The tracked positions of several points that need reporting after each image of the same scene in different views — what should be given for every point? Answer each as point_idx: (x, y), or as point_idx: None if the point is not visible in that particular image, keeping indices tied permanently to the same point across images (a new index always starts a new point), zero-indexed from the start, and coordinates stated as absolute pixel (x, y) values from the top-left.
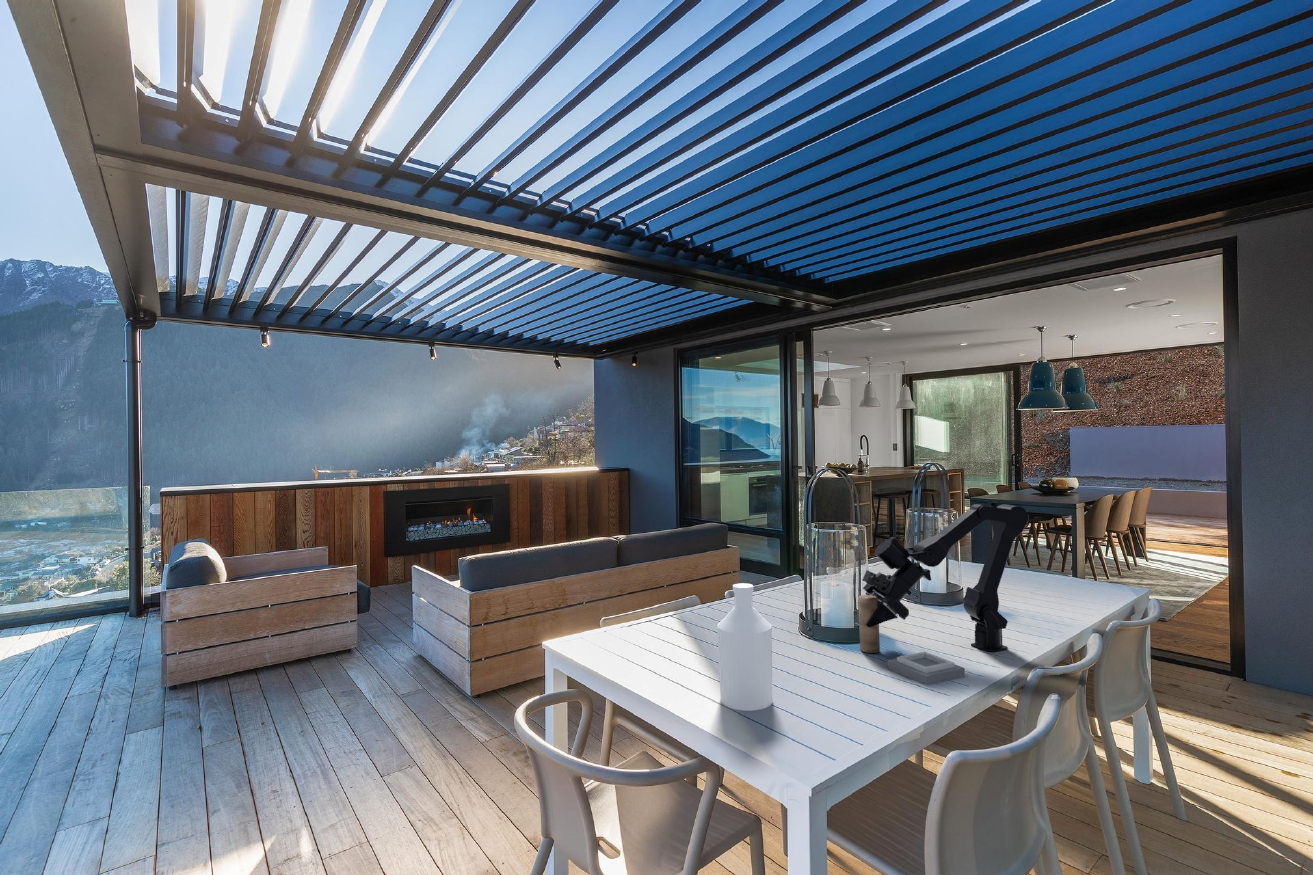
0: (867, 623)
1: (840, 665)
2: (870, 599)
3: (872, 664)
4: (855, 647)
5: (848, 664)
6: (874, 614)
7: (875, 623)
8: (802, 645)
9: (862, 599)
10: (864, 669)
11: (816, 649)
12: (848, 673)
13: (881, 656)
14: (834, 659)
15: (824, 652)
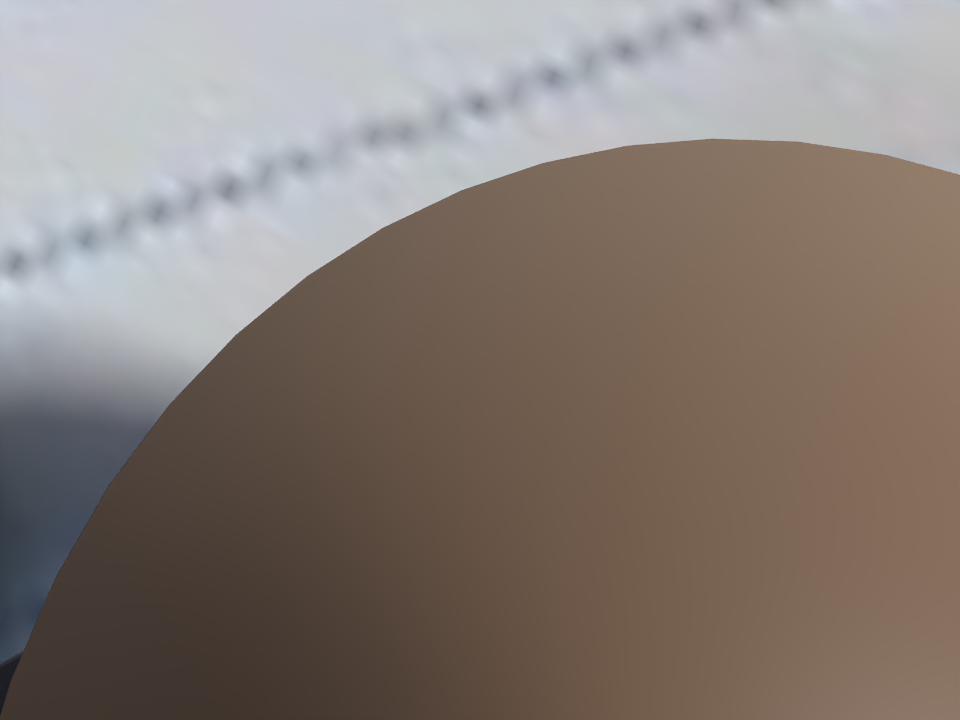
0: None
1: (244, 73)
2: (82, 649)
3: (142, 367)
4: None
5: (238, 151)
6: None
7: None
8: (894, 17)
9: (463, 206)
10: (60, 217)
11: (740, 83)
12: (41, 39)
13: None
14: (410, 101)
15: (631, 111)
